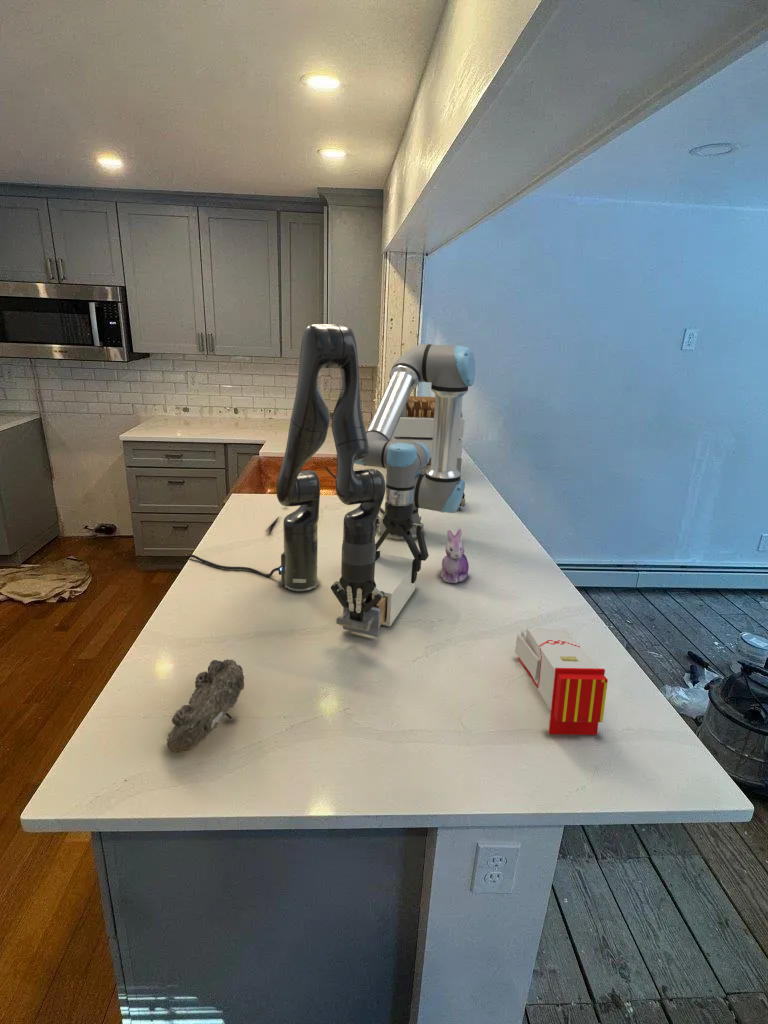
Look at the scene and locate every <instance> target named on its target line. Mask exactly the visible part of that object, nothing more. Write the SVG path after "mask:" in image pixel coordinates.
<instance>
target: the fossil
mask: <svg viewBox="0 0 768 1024" xmlns="http://www.w3.org/2000/svg"><path fill="white" fill-rule="evenodd" d="M243 670H244V669H243V667H242V665H240V664H237V662H236V661H235V660H234V659H232V658H231V659H227V658H226V659H224V660H223V661H222V660H217V659H212V660H211V661H210V663H209V665H208V666H207V671H201V672H199V673H198V674H197V675H196V676H195V680H194V684H195V685H194V687H195V689H194V690H193V693H192V694H191V697H190V698H189V700H188V704H184V705H182V706H181V707H180V709H177V710H176V711H175V713H174V715H173V716H172V718H171V723H172V724H173V727H172V730H171V731H170V732H168V734H167V738H166V741H167V742H166V745H167V749H168V750H169V751H173V752H174V753H176V754H178V753H182V752H188V751H189V752H192V751H193V750H195V748H196V747H197V746H199V744H200V743H201V742H203V741H204V740H205V739H206V738H207V737H208V736H209V735H210V734H211V733H212V732H214V730H215V729H217V727H218V726H219V724H220V722H221V721H222V720H223V719H224V718H225V716H226V717H227V719H229V720H233V717H232V715H230V714H229V710H230V709H231V708H234V706H235V704H236V703H237V702H238V699H239V697H240V695H241V693H242V691H243V690H245V689H244V688H245V675H244V671H243Z"/></svg>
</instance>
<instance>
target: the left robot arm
mask: <svg viewBox="0 0 768 1024" xmlns="http://www.w3.org/2000/svg"><path fill="white" fill-rule="evenodd" d="M358 354H359V353H358V347H357V340H356V336H355V333H354V331H353V329H352V328H351V327H350V326H349V325H347V324H340V323H337V324H336V323H313V324H309V325H307V326H306V327H305V329H304V332H303V334H302V338H301V344H300V353H299V364H298V377H297V383H296V384H297V385H296V390H295V396H294V402H293V406H292V411H291V416H290V419H289V425H288V434H287V441H286V446H285V450H284V455H283V458H282V462H281V466H280V469H279V472H278V476H277V480H276V486H275V487H276V488H275V490H276V498H277V501H278V504H280V505H281V506H283V507H286V508H287V507H298V508H297V509H296V510H294V511H292V512H291V513H289V514H287V515H286V516H284V519H283V521H282V522H283V523H282V524H283V525H282V526H283V527H282V529H283V552H282V553H281V554H280V566H278V567H275V568H273V569H271V571H270V573H263V572H261V571H259V570H257V569H255V568H252V567H248V566H247V567H246V566H227V565H220V564H217V563H214V562H211V561H208V560H206V559H204V558H201V557H199V556H197V555H196V554H189V555H187V556H186V557H185V559H190V558H193V559H196V560H197V561H199V562H202V563H205V564H207V565H209V566H212V567H215V568H218V569H223V570H244V571H249V572H250V571H251V572H253V573H255V574H257V575H259V576H262V577H265V578H269V577H272V576H273V574H274V572H277V571H278V575H280V577H281V578H280V579H281V586H283V587H285V588H286V589H287V590H289V591H292V592H300V593H301V592H309V591H312V590H314V589H315V588H317V587H318V583H319V581H318V524H319V519H320V502H321V501H320V500H321V484H320V478H319V475H318V473H317V472H316V471H315V470H313V469H303V467H304V466H305V464H306V463H308V461H309V460H310V459H311V458H313V456H314V455H315V454H316V453H317V452H318V451H319V450H320V449H321V447H322V446H323V444H324V443H325V441H326V439H327V435H328V431H329V428H330V424H331V431H332V437H333V441H334V446H335V451H336V475H335V476H336V479H335V492H336V496H337V498H338V499H339V500H340V502H341V503H342V504H344V505H346V506H353V505H359V506H357V508H354V509H353V510H351V511H348V512H347V513H346V514H345V515H344V517H343V528H342V529H343V531H342V532H343V533H342V544H341V564H340V565H341V566H340V567H341V570H340V571H341V572H340V574H341V576H340V578H339V581H337V580H336V581H335V582H334V583H333V584H332V585H331V586H330V590H331V591H332V593H333V594H334V596H335V598H336V599H337V600H338V602H339V603H340V605H341V606H342V608H343V607H347V608H348V609H349V610H350V619H352V620H356V621H361V622H362V621H363V612H368V611H369V610H370V609H371V608H372V607H373V606H374V605H375V604H377V603H378V602H379V601H380V600H381V598H382V597H383V596H384V592H383V591H379V590H378V589H377V588H376V583H375V581H374V575H375V558H376V546H375V544H376V536H375V527H376V520H377V517H378V516H379V514H380V512H381V511H380V508H382V504H383V502H384V500H385V494H386V478H385V476H384V475H383V473H382V472H381V471H379V470H378V469H376V468H367V469H358V470H354V464H355V463H354V462H355V461H358V460H361V459H363V458H365V457H367V456H368V455H369V444H368V440H367V435H366V431H367V430H366V426H365V422H364V417H363V410H362V399H361V384H360V383H361V381H360V368H359V355H358ZM321 369H339V371H340V376H341V388H340V392H339V394H338V395H339V396H338V399H337V400H336V404H335V405H334V409H333V412H332V416H331V412H330V408H329V406H328V404H327V402H326V400H325V398H324V396H323V394H322V392H321V390H320V387H319V381H318V380H319V374H320V372H321ZM330 422H331V423H330ZM302 469H303V470H302ZM371 592H373V595H372V600H371V601H369V602H368V603H367V604H365V600H366V597H367V596H368V595H369V594H370V593H371Z"/></svg>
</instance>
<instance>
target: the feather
mask: <svg viewBox="0 0 768 1024" xmlns="http://www.w3.org/2000/svg"><path fill="white" fill-rule="evenodd" d="M284 507H285V509H287V507H286V506H284ZM279 517H280V516H278V517H277V518H276V519H275V520H274V521H273V522H272V523H271V524H270V525H269V526H268V528H266V531H267V530H268V531H269V532H268V535H270V533H271V532H272V530H273V528H274V527H275V525H276V523H277V521H278V519H279Z"/></svg>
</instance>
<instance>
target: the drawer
mask: <svg viewBox="0 0 768 1024" xmlns="http://www.w3.org/2000/svg"><path fill="white" fill-rule="evenodd" d="M372 595H373V594H372V593H370V594H369V595H368V596H367V597H366V600H365V604H367V603H368V602H369V601H371V600H372ZM387 600H388V597H386V596H383V597H382V598H381V600H380V601H379V602H378V603H377V604H375V605H374V606H373V607H372V608H371V609H370V610H369V611H368V612H363V621H362V622H361V621H356V620H352V619H350V610H349V609H348V608H347V607H343V606H342V615H341V616H337V618H336V620H335V621H336V625H338V626H342V629H343V630H345V631H349V632H355V633H359V634H363V635H366V636H371V637H375V638H378V637H379V636H380V633H381V632H380V631H381V626H382V625H381V624H382V623H383V621H384V620H385V619H386V617H387Z"/></svg>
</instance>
